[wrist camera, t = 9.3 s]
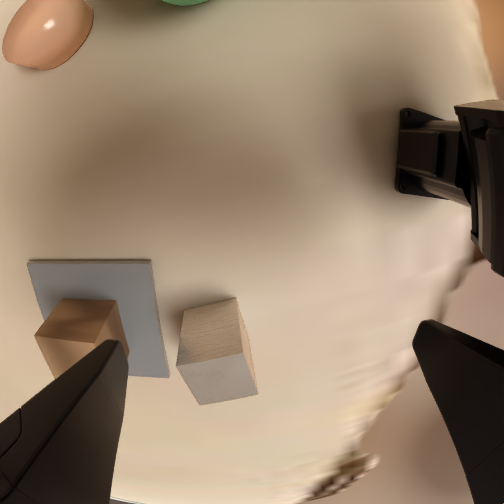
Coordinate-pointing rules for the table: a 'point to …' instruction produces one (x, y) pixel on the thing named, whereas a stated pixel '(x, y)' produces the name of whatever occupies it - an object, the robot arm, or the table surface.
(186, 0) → the mug
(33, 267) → the slate coaster
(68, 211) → the table surface
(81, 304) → the walnut block
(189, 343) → the light wood block
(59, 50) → the peach egg shape
